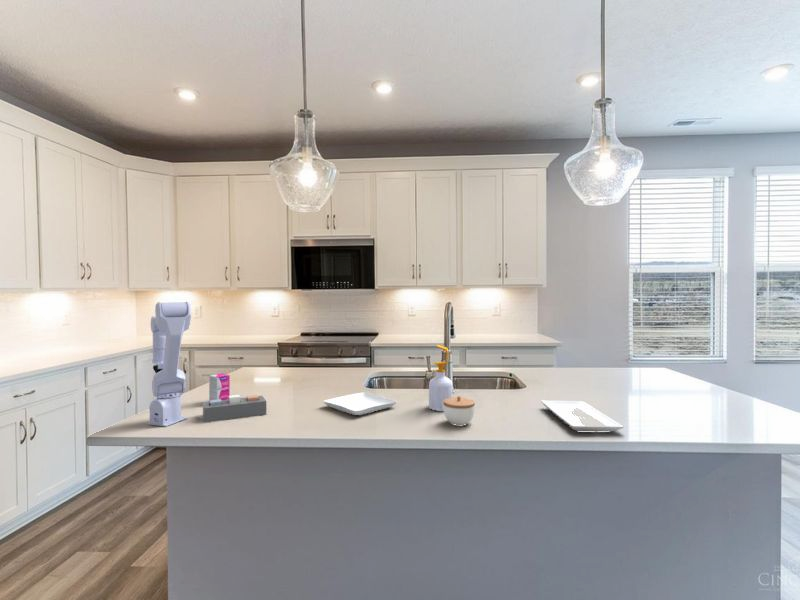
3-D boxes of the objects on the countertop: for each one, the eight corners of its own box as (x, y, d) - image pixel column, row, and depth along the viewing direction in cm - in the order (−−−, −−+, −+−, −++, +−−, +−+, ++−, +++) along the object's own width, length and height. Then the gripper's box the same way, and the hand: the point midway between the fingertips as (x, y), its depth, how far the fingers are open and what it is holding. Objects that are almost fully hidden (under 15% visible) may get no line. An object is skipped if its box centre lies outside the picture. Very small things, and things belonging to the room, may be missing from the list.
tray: (582, 408, 169) (583, 399, 169) (624, 436, 138) (625, 425, 138) (539, 408, 169) (539, 399, 169) (571, 436, 138) (572, 425, 138)
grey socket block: (204, 422, 151) (203, 408, 151) (202, 415, 159) (202, 402, 159) (266, 414, 160) (266, 401, 160) (262, 408, 168) (262, 395, 168)
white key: (229, 408, 157) (229, 397, 157) (228, 406, 160) (228, 395, 160) (240, 407, 159) (240, 396, 159) (239, 405, 162) (239, 394, 162)
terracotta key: (248, 409, 160) (248, 398, 160) (247, 406, 163) (246, 396, 163) (258, 407, 162) (258, 397, 161) (257, 405, 165) (256, 395, 165)
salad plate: (363, 398, 184) (363, 390, 184) (398, 408, 169) (398, 400, 169) (321, 408, 169) (321, 399, 169) (355, 420, 154) (355, 411, 154)
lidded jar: (441, 418, 155) (441, 392, 155) (470, 418, 156) (470, 392, 156) (445, 428, 144) (446, 400, 144) (477, 428, 145) (477, 400, 145)
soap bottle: (430, 404, 174) (430, 343, 173) (453, 405, 172) (453, 344, 171) (427, 410, 165) (427, 346, 164) (451, 412, 163) (451, 347, 162)
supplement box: (216, 405, 172) (216, 377, 172) (208, 403, 176) (208, 375, 175) (230, 402, 177) (229, 374, 176) (222, 400, 180) (221, 372, 180)
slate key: (210, 413, 154) (210, 402, 154) (210, 411, 157) (210, 400, 157) (221, 412, 156) (221, 401, 156) (220, 409, 159) (220, 399, 159)
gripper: (173, 350, 158) (173, 387, 159) (173, 344, 171) (174, 378, 172) (151, 351, 155) (151, 389, 156) (153, 345, 168) (153, 380, 169)
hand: (162, 384), depth 164 cm, fingers closed
